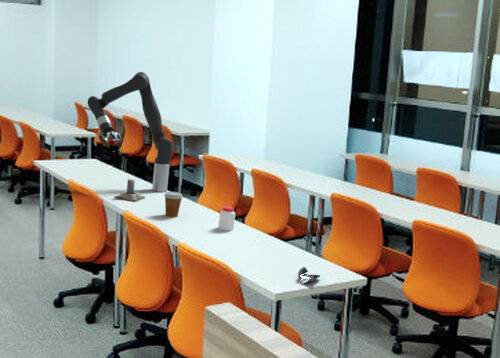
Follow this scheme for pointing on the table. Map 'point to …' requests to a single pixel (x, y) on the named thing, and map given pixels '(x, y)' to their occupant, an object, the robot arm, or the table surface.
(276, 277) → the table surface
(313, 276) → the black spring clamp
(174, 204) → the disposable coffee cup
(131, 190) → the plug
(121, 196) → the socket plate
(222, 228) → the pill bottle
